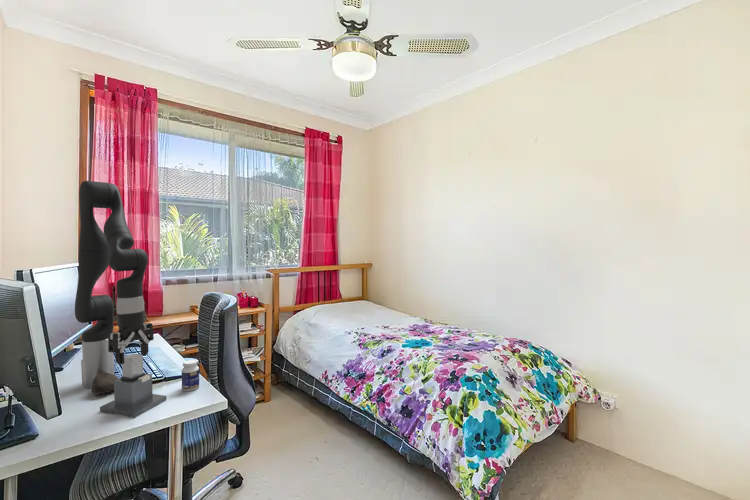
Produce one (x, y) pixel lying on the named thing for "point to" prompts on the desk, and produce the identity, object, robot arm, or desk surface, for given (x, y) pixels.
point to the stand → (133, 397)
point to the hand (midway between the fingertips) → (132, 359)
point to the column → (132, 367)
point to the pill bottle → (190, 375)
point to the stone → (103, 383)
